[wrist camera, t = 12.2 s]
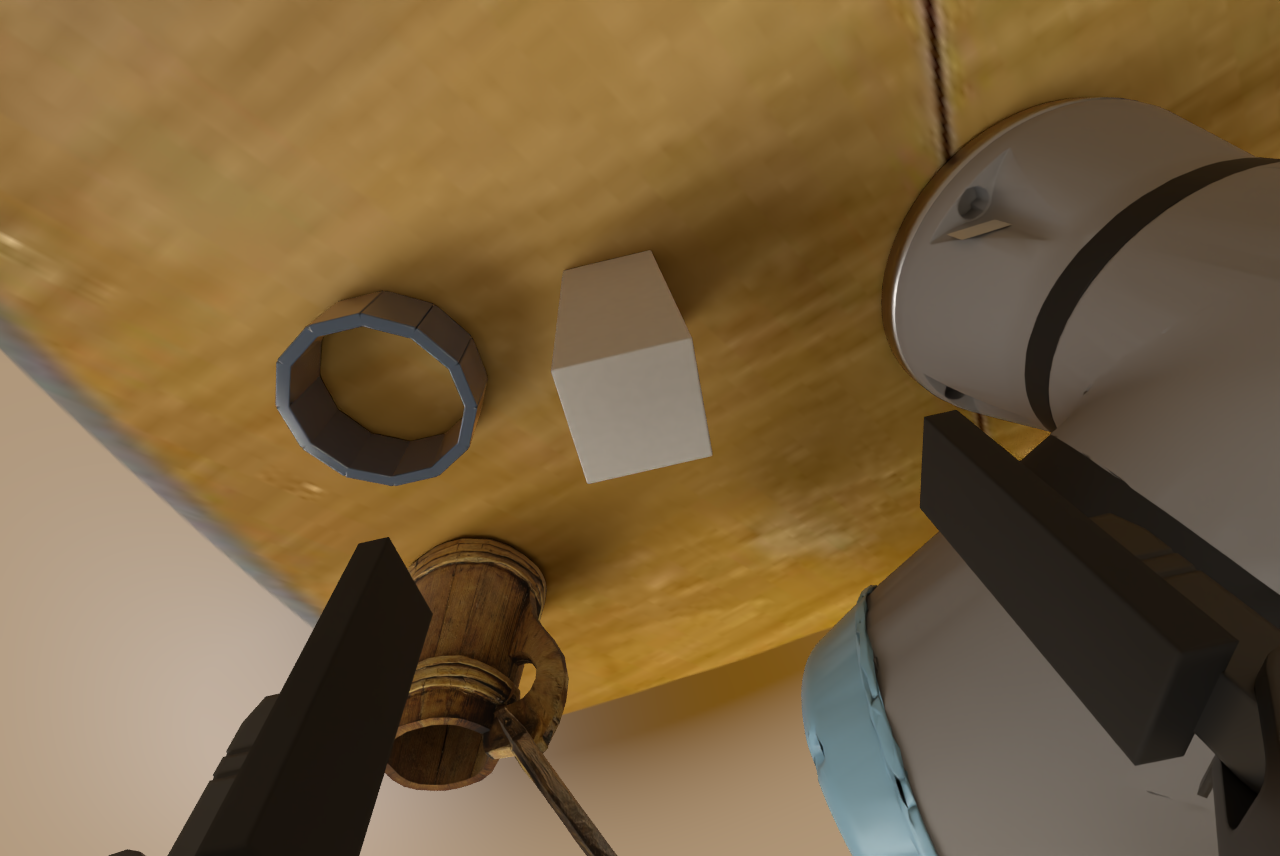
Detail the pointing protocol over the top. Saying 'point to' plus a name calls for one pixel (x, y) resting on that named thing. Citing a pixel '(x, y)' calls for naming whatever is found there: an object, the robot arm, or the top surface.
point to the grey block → (627, 370)
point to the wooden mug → (485, 680)
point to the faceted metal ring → (347, 440)
